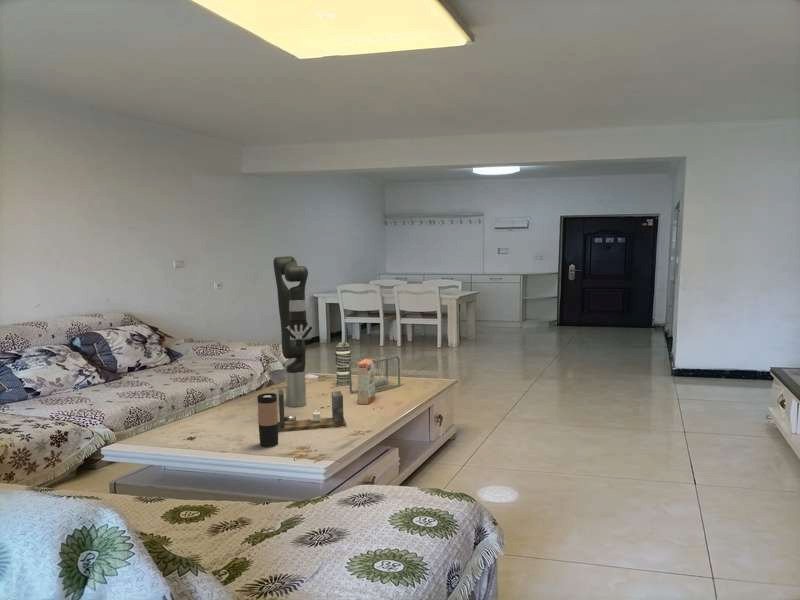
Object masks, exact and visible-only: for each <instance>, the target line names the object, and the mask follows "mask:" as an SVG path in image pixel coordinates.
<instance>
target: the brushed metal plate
mask: <svg viewBox="0 0 800 600" xmlns="http://www.w3.org/2000/svg"><path fill="white" fill-rule="evenodd" d="M284 400H285V399H284V390H283V389H278V409H279V410H278V411H279V413H278V414H279V422H280V427H283V426H285V421H296V420H297V416H296V415H291V416H285V401H284Z"/></svg>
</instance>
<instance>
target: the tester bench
mask: <svg viewBox="0 0 800 600" xmlns="http://www.w3.org/2000/svg"><path fill="white" fill-rule="evenodd" d="M331 411H332V412H331V416H332V417H324V418H323V417H322V418H321V417H320V419H321V420H320V421H314V420H313V418H310V419H309V418H308V419H300V420H299V419H296V421H285V426H283V427H280V421H278V433H284V432H295V431H308V430H309V429H310V430H319V429H318V428H322V429H330V427H334V428H342V427H341V426H346V427H347V422H346V419H345V417H344V395H343V394H342V391H341V390H336V391H334V390H333V391H331Z"/></svg>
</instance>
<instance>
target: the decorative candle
mask: <svg viewBox="0 0 800 600" xmlns="http://www.w3.org/2000/svg"><path fill="white" fill-rule="evenodd" d="M335 349H336V350H335V353H334V355H335V356H334V358H335V367H336V387H337V386H338V387H337V388H339V387H347V388H350V387H349V386H350V385H349V363H350V362H351V361H352V359H351V358H352V353H351V350H350V344H349V343H348V342H344V341H343V342H342V341H341V342H338V343H337V344H336V345H335ZM351 382H352V379H351Z"/></svg>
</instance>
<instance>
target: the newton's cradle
mask: <svg viewBox="0 0 800 600" xmlns="http://www.w3.org/2000/svg"><path fill="white" fill-rule="evenodd" d="M364 359H374V364H375V363H376V367H379V365H378V364H379V362H381V363H383V362H384V361H385V371H384V370H383V368H381V370H380V369H377V371H378V372H377V371H376V372H375V375H377V373H380V372H382V371H383V373H384V372H385V373H384V376H383V377H381V375H379V376H378V378H375V387H376V388H380V387H383V386H389V387H385V388H380V389H377V390H375V394H377V393H381V392H384V391H388V390H391V389H396V388H399V387H400V386H401V363H400V362H401V360H400V359H401V358H400V357H399V356H398V355H387V354H379V355H375V356H369V357H365V358H360V359H354V360H351V361H350V363H349V385H350V387H349V392H350V394H357V393H358V389H357V390H353V389H352V388H353V387H352V381H351V380H352V364H354V363H355V364H357V363H359V362H361V361H362V360H364ZM393 359H397V382H398V383H397V384H396V385H394V384H389V370H388V369H389V366H388V365H389V364H388V360H393ZM383 366H384V365H383V364H381V367H383ZM379 370H380V372H379ZM356 392H357V393H356ZM376 392H377V393H376Z"/></svg>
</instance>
